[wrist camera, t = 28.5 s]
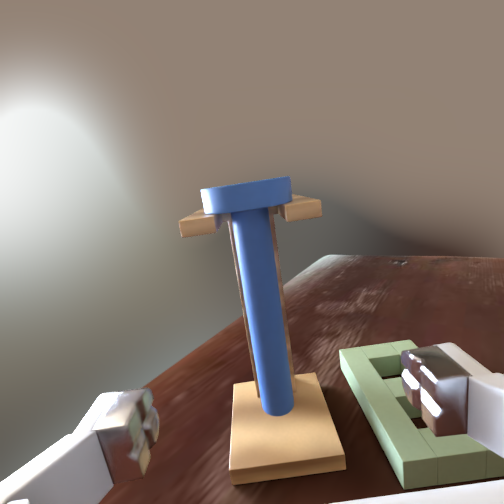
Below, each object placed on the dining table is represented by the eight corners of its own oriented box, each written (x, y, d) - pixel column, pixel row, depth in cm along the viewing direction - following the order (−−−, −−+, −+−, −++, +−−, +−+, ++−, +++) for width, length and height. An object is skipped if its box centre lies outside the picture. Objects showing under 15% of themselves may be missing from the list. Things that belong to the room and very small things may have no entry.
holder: (410, 358, 34) (409, 339, 34) (519, 474, 21) (521, 445, 20) (340, 368, 34) (339, 349, 34) (403, 490, 21) (402, 462, 20)
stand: (351, 482, 22) (326, 199, 17) (231, 499, 22) (172, 222, 17) (316, 383, 32) (294, 193, 28) (236, 395, 32) (201, 207, 28)
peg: (261, 374, 28) (231, 185, 24) (324, 387, 25) (302, 174, 21) (227, 422, 23) (181, 192, 19) (301, 446, 20) (265, 179, 16)
